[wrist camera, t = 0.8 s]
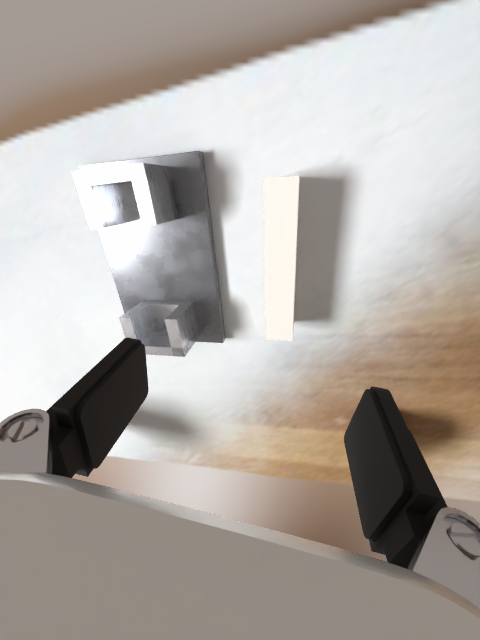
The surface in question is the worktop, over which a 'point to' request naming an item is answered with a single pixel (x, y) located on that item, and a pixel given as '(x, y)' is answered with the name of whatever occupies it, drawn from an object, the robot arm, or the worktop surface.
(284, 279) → the slat
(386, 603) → the robot arm
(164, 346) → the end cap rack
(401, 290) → the worktop surface
